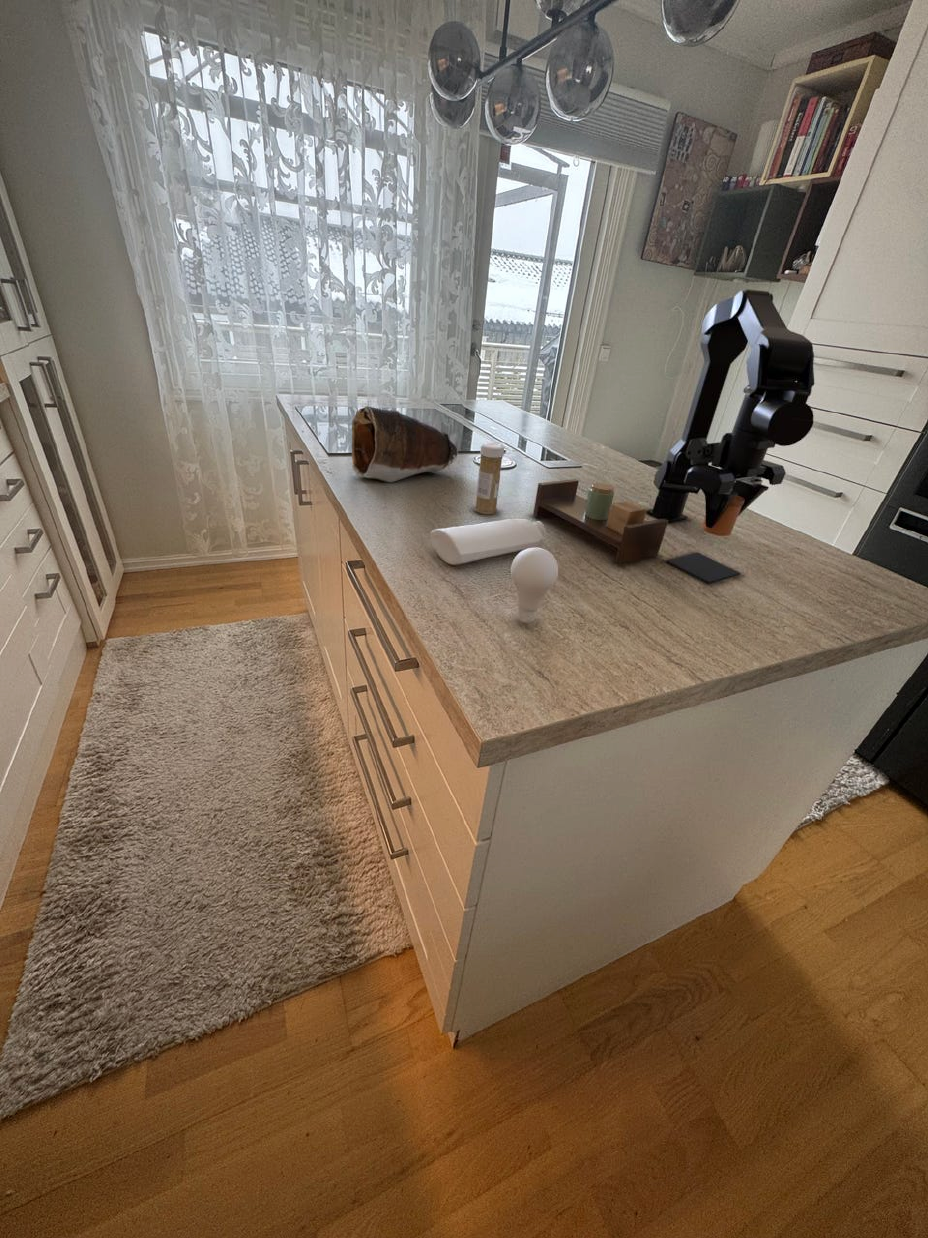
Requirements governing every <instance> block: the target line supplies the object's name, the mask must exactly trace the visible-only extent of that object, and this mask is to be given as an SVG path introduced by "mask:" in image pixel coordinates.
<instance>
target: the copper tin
mask: <svg viewBox="0 0 928 1238" xmlns="http://www.w3.org/2000/svg"><path fill="white" fill-rule="evenodd" d="M744 501H745V500H744V498H742V497H740V496H738V495H737V496H736V497H735V498H734V500H733V501H732V503H731V504H730V505H729V507H728V508H727V509H726V511H725V512H724V513H723V515H722V516H721V517H720V519H719V520H718V521H717V523H716V524H715V525H714V526H713V528H709V527H706V514H705V515H704V518H703V521H702V523H701V528H700V529H701V530H702V531H704V532H706V533H708V534H710V535H714V536H720V537H728V536H731V534H732V532H733V529H734V527H735V524H736V522H737V520H738V517H739V516H738V514H739V512H740V509H741V507H742V505H743V503H744Z"/></svg>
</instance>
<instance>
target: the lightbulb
mask: <svg viewBox="0 0 928 1238" xmlns="http://www.w3.org/2000/svg"><path fill="white" fill-rule="evenodd" d="M510 576H511V579H512V582H513V584H514V587H515V591H516V595H517V597H516V598H517V599H516V604H517V613H516V617H517V619H518V621H521V622H522V623H523V624H530V623H533V622H534V621H536V617H537V615H538V610H539V609H540V607H541V604H542V601H543V599H544V597H545V596H546V594H547V593H548V592H549V591H550V590H551V589H552V587H553V586H555V583H556V582H557V580H558V576H559V565H558V562H557V559H556V558H555V557H554V555H553V554H552V553H551V552H550V551H548V550H547V549H544V548H542V547H539V546H538V547H533V548H528V549H525V550H522V551H519V552H518V554H517V555H516V556H515V557H514V559H513V560H512V563H511V567H510Z"/></svg>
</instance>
